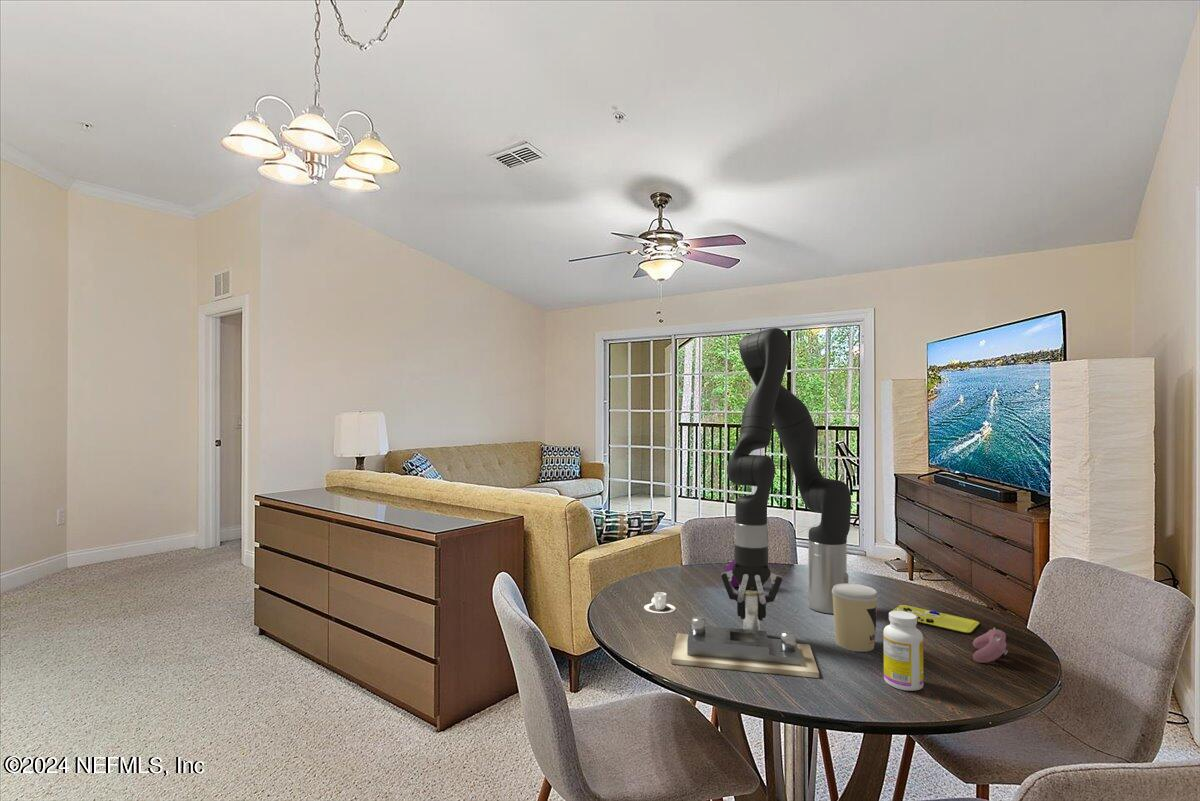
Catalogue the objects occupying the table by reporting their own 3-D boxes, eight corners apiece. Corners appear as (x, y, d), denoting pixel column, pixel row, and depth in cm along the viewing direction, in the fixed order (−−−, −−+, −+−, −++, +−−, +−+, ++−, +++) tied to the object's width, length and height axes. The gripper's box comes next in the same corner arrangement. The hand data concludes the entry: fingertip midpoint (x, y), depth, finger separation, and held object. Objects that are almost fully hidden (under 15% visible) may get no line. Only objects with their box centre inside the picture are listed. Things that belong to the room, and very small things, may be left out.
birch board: (809, 649, 127) (809, 644, 127) (819, 678, 113) (819, 672, 113) (677, 637, 133) (677, 633, 133) (671, 663, 119) (671, 658, 119)
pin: (760, 630, 137) (760, 586, 137) (761, 636, 133) (761, 591, 133) (741, 628, 138) (741, 585, 138) (742, 635, 134) (742, 590, 134)
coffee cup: (880, 656, 124) (880, 597, 124) (832, 649, 127) (832, 592, 127) (876, 640, 133) (876, 585, 133) (831, 634, 136) (831, 581, 136)
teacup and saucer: (652, 602, 159) (652, 586, 159) (680, 606, 155) (680, 591, 155) (639, 611, 151) (639, 595, 151) (668, 617, 148) (668, 600, 148)
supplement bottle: (908, 675, 115) (908, 608, 115) (931, 691, 108) (931, 620, 109) (876, 677, 114) (876, 609, 114) (897, 693, 108) (897, 621, 108)
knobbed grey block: (795, 647, 125) (796, 619, 125) (800, 665, 117) (801, 634, 117) (690, 638, 130) (690, 610, 130) (687, 655, 121) (687, 625, 121)
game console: (981, 625, 144) (981, 619, 144) (970, 638, 135) (970, 632, 135) (900, 608, 156) (900, 602, 156) (886, 619, 148) (886, 613, 148)
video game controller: (994, 674, 119) (1013, 646, 118) (970, 659, 121) (989, 631, 120) (993, 657, 127) (1011, 630, 126) (970, 643, 130) (987, 617, 128)
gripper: (782, 540, 138) (782, 615, 138) (719, 537, 141) (719, 611, 141) (785, 548, 131) (785, 627, 130) (719, 544, 134) (719, 622, 133)
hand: (751, 618), depth 136 cm, fingers closed on pin, 3 cm apart
